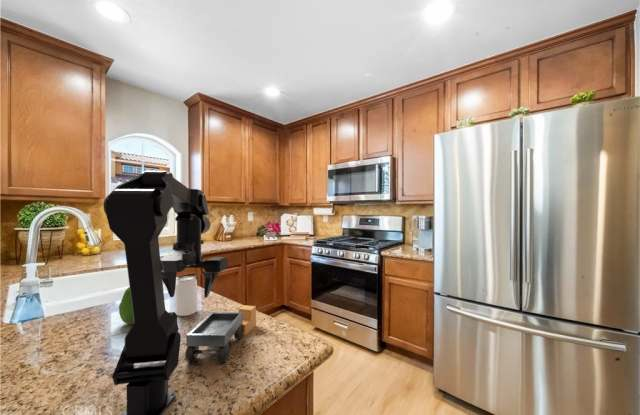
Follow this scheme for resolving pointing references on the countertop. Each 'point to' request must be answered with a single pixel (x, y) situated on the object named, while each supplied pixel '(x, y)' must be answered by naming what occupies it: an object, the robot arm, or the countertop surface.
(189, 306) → the can
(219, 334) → the tray
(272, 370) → the countertop surface
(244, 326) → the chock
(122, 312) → the avocado
